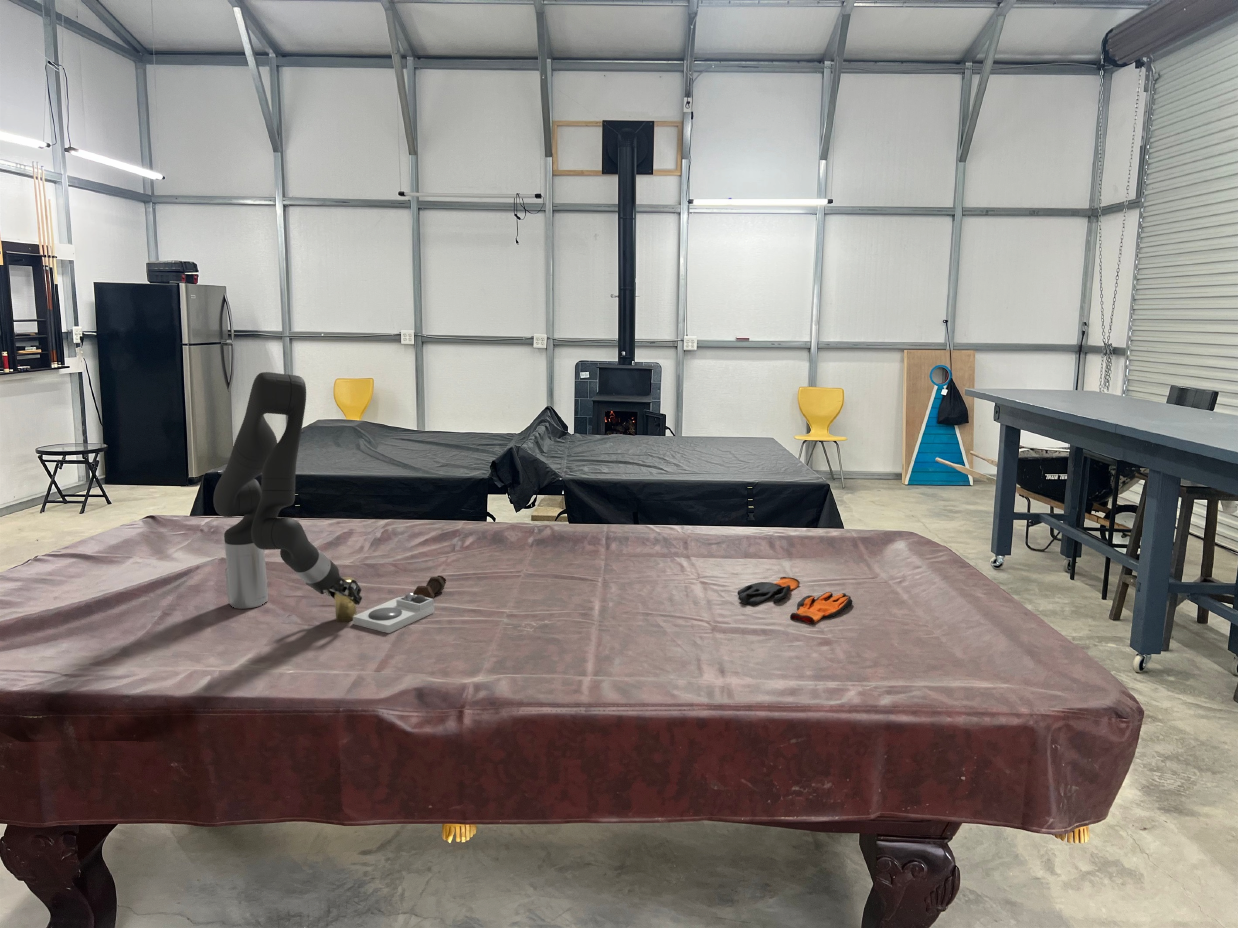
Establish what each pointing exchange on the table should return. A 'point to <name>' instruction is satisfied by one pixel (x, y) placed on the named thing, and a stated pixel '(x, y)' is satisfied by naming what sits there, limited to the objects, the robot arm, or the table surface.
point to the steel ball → (409, 597)
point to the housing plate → (394, 614)
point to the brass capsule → (344, 606)
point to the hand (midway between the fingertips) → (349, 599)
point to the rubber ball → (419, 599)
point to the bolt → (431, 587)
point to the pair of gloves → (806, 606)
